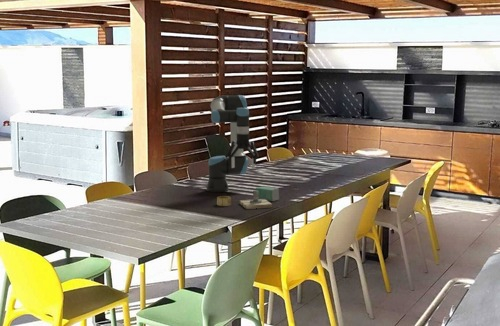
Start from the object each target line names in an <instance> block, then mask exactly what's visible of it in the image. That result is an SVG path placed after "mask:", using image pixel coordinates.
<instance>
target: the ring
mask: <svg viewBox="0 0 500 326" xmlns="http://www.w3.org/2000/svg"><path fill="white" fill-rule="evenodd" d="M231 197H232V196H229V195H222V196H221V195H220V196H216V205H217V206H219V207H228V206H231V205H232V198H231Z"/></svg>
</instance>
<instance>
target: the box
mask: <svg viewBox="0 0 500 326" xmlns="http://www.w3.org/2000/svg"><path fill="white" fill-rule="evenodd" d="M255 190H257V191H258V199H266V200H267V201H268V202H275V201H280V187H279V188H278V187H271V186H258V187H256V188H255Z"/></svg>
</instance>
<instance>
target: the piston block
mask: <svg viewBox="0 0 500 326" xmlns="http://www.w3.org/2000/svg"><path fill="white" fill-rule="evenodd" d="M239 205H241V206H242V207H243V208H245V210H254V209H256V208H257V209H270V208H273V203H271V201H267V200H266V199H258V191H257V190H256V189H255V190H253V191H252V199H242V200H241V199H240V200H239ZM257 209H256V210H257Z"/></svg>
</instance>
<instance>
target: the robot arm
mask: <svg viewBox="0 0 500 326" xmlns="http://www.w3.org/2000/svg"><path fill="white" fill-rule="evenodd" d="M210 109H211V114H210V115H211V117H210V118H211V122H212V123H216V124H219V123H221V124H223V123H229V124H230V126H229V127H230V147H229V149H228V152H227V155H216V156H212V157H210V158H209V159H208V180H207V185H206V192H211V193H223V192H228V191H229V185H228V184H229V183H228V182H227V179H226V178H227V176H231V175H232V176H234V175H235V176H237V175H238V176H242V175H245V174H247V171H248V164H249V158H248V157H246V156H247V155H246V153H245V152H244V150H247V151H248V153H249V154H250V156H251V157H252V158H251V170H255V169H256V164H257V158H259V157H260V155H259V152H258V150H257V147H256V146H255V142H254V141H250V134H249V133H250V110H249V107H248V103H247V98H246V96H245V95H244V94H243V95H242V94H231V95H230V94H229V95H228V94H227V95H225V94H224V95H223V94H222V95H219V96H217V97H214V98H213V99H212V100H211V102H210ZM226 156H227V157H226Z"/></svg>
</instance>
